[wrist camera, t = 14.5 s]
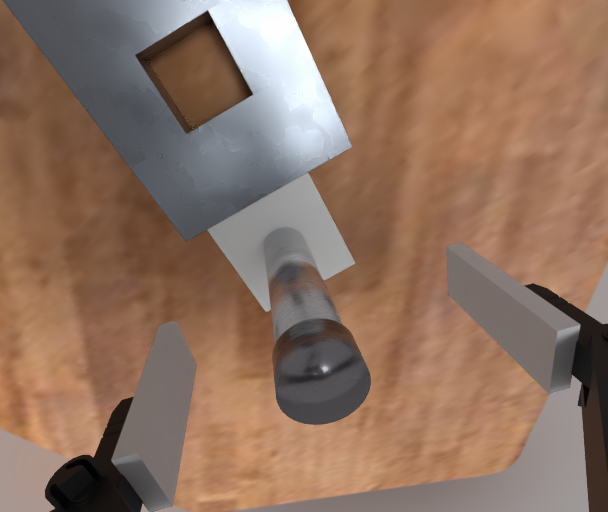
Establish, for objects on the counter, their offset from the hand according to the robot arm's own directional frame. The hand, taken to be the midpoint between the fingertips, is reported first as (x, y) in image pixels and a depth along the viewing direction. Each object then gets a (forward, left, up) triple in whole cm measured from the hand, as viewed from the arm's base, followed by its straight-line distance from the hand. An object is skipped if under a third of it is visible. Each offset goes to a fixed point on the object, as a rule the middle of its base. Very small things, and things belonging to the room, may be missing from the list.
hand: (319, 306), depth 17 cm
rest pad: (0, -1, -10) cm, 10 cm away
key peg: (0, -1, -10) cm, 10 cm away
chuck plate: (-12, 0, -10) cm, 15 cm away
